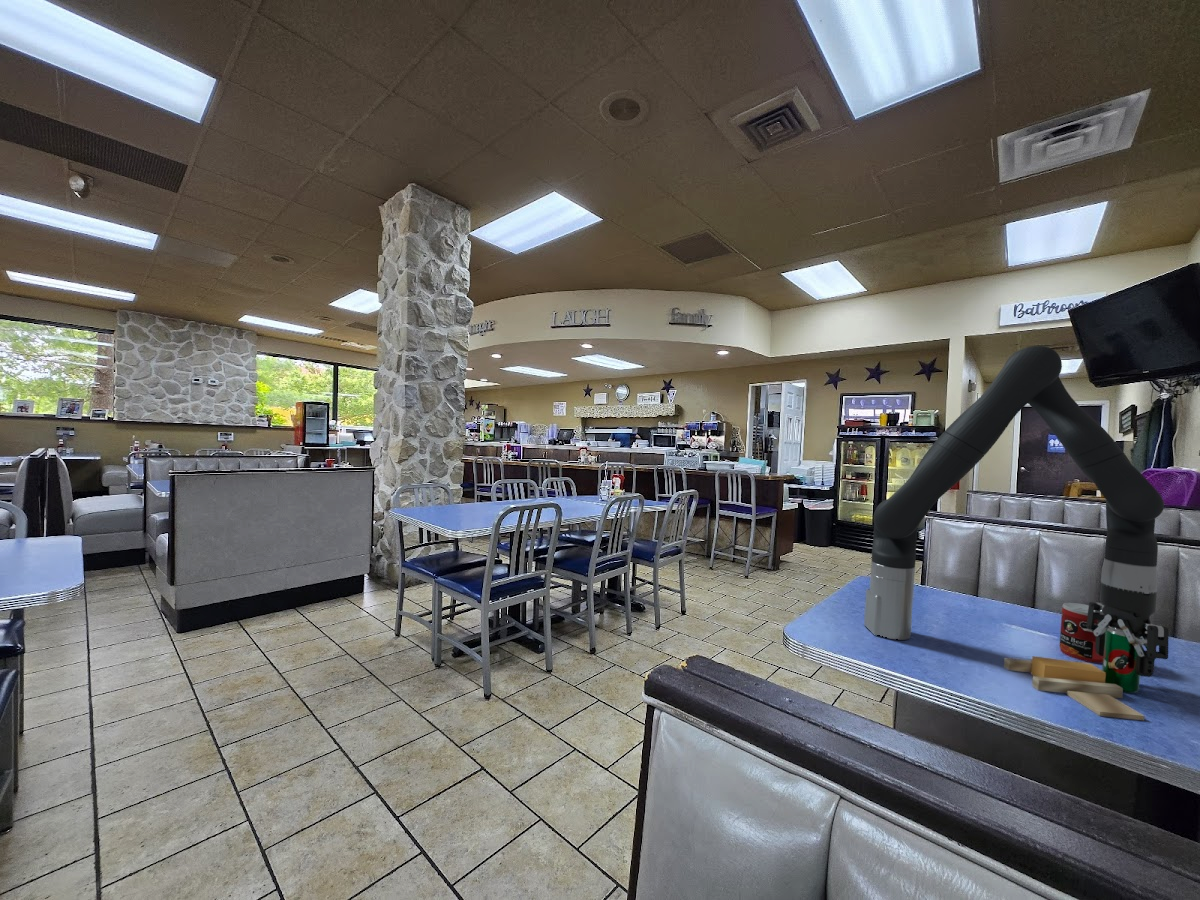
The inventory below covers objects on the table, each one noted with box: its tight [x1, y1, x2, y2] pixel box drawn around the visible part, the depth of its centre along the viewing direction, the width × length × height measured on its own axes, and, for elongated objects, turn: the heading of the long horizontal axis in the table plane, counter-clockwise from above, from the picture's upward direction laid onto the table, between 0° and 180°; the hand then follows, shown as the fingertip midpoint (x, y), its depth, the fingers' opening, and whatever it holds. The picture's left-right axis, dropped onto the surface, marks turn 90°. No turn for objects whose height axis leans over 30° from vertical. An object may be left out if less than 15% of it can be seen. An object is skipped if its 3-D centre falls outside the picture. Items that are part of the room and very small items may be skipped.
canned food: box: [1059, 602, 1103, 664], centre depth 111 cm, size 8×8×11 cm
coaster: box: [1066, 691, 1146, 721], centre depth 89 cm, size 7×7×1 cm
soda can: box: [1101, 625, 1143, 694], centre depth 96 cm, size 5×5×12 cm
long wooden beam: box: [1030, 655, 1106, 683], centre depth 98 cm, size 10×4×4 cm, turn 76°
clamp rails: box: [1003, 657, 1124, 699], centre depth 98 cm, size 14×10×2 cm, turn 83°
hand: (1122, 665), depth 96 cm, fingers open, 8 cm apart
